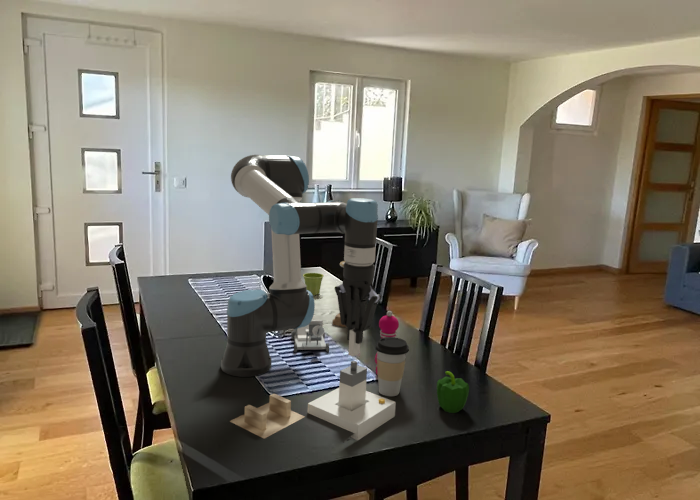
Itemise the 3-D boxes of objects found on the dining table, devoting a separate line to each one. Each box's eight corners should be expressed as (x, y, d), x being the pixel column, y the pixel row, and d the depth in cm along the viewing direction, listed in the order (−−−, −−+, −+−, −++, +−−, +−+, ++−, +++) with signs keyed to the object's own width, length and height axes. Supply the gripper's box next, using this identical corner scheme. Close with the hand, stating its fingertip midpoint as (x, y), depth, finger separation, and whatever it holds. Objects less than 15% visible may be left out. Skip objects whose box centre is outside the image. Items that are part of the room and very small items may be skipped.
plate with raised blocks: (229, 426, 135) (229, 405, 134) (271, 406, 146) (271, 387, 145) (264, 444, 128) (264, 422, 127) (305, 422, 139) (305, 401, 138)
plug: (338, 415, 141) (340, 363, 138) (352, 407, 146) (354, 356, 143) (350, 420, 139) (353, 367, 136) (364, 412, 144) (367, 360, 141)
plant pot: (322, 296, 250) (323, 278, 249) (301, 295, 250) (302, 277, 249) (323, 291, 260) (324, 273, 258) (303, 290, 260) (304, 272, 258)
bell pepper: (472, 414, 147) (475, 379, 145) (444, 417, 145) (447, 381, 143) (457, 400, 155) (460, 366, 153) (430, 403, 152) (433, 368, 151)
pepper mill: (400, 371, 173) (404, 309, 169) (394, 380, 166) (398, 316, 162) (377, 367, 175) (381, 306, 171) (371, 375, 168) (374, 312, 164)
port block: (307, 418, 141) (307, 401, 140) (346, 397, 154) (346, 381, 153) (357, 440, 132) (358, 422, 131) (394, 416, 144) (395, 399, 143)
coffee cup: (370, 384, 162) (373, 335, 159) (402, 384, 163) (406, 336, 160) (375, 399, 153) (378, 347, 150) (408, 399, 154) (412, 348, 151)
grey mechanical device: (331, 328, 181) (295, 328, 179) (330, 356, 183) (294, 357, 181) (324, 311, 198) (292, 311, 196) (323, 337, 200) (291, 338, 198)
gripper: (328, 260, 136) (324, 351, 140) (372, 270, 128) (366, 365, 133) (347, 256, 142) (343, 343, 146) (390, 265, 134) (383, 357, 139)
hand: (354, 354), depth 140 cm, fingers closed
